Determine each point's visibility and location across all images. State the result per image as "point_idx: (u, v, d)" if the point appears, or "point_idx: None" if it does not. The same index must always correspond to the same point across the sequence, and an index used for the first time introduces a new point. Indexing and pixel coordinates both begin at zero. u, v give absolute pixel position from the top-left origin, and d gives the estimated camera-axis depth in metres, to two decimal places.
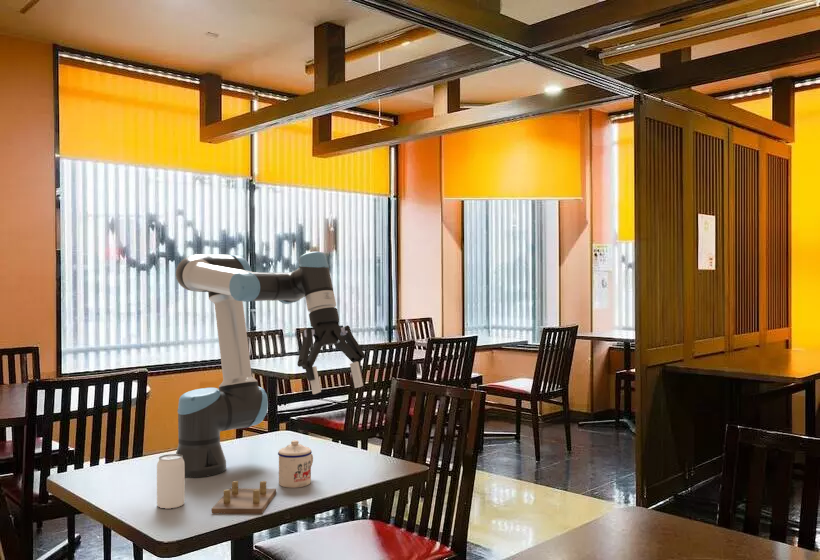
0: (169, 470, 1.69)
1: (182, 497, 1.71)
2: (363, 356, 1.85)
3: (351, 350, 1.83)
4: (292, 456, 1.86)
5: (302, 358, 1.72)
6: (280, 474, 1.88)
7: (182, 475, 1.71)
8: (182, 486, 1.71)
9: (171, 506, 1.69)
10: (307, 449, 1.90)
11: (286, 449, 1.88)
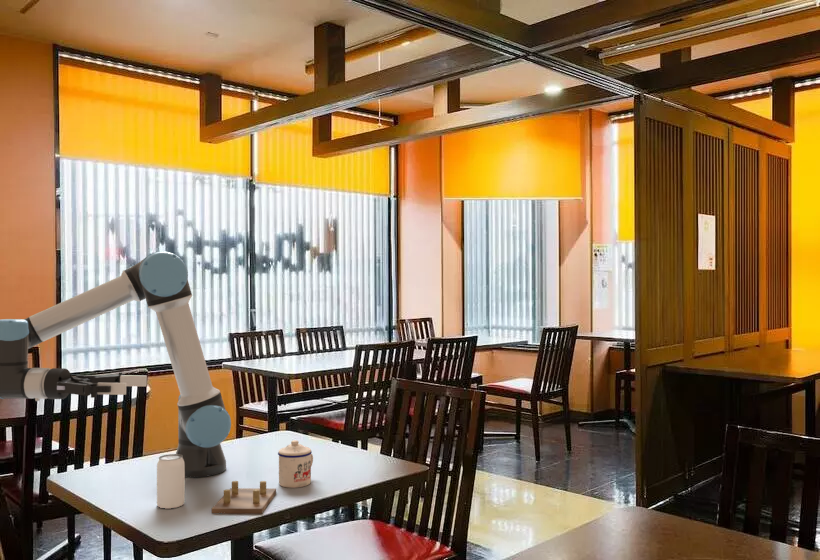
0: (169, 470, 1.69)
1: (182, 497, 1.71)
2: None
3: None
4: (292, 456, 1.86)
5: None
6: (280, 474, 1.88)
7: (182, 475, 1.71)
8: (182, 486, 1.71)
9: (171, 506, 1.69)
10: (307, 449, 1.90)
11: (286, 449, 1.88)
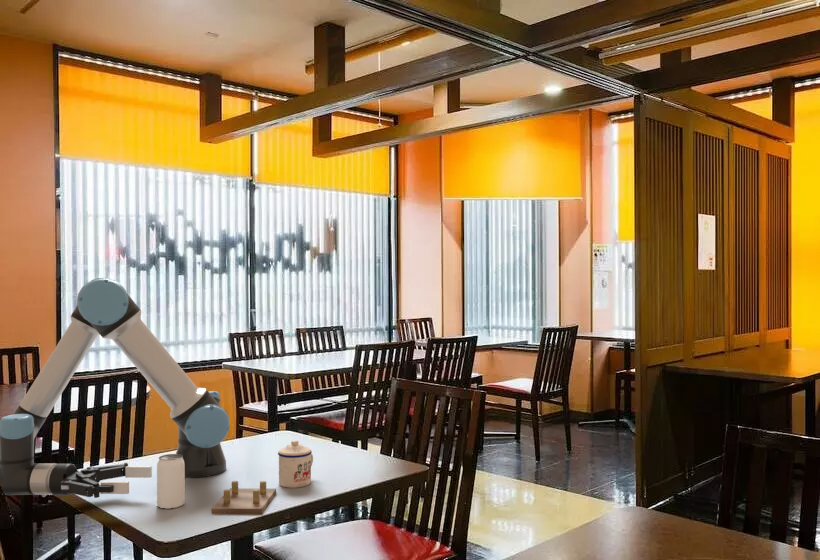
0: (169, 470, 1.69)
1: (182, 497, 1.71)
2: None
3: None
4: (292, 456, 1.86)
5: None
6: (280, 474, 1.88)
7: (182, 475, 1.71)
8: (182, 486, 1.71)
9: (171, 506, 1.69)
10: (307, 449, 1.90)
11: (286, 449, 1.88)
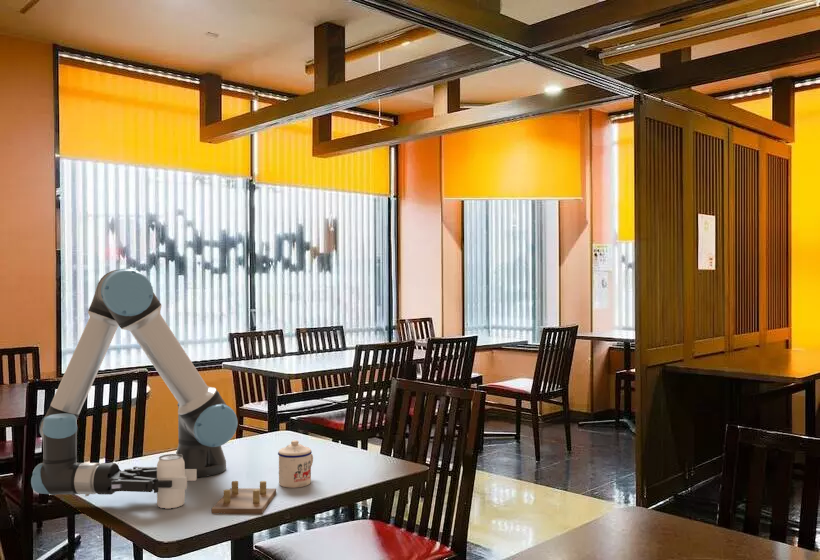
0: (170, 470, 1.69)
1: (182, 497, 1.71)
2: None
3: None
4: (292, 456, 1.86)
5: None
6: (280, 474, 1.88)
7: (182, 475, 1.71)
8: None
9: (171, 506, 1.69)
10: (307, 449, 1.90)
11: (286, 449, 1.88)
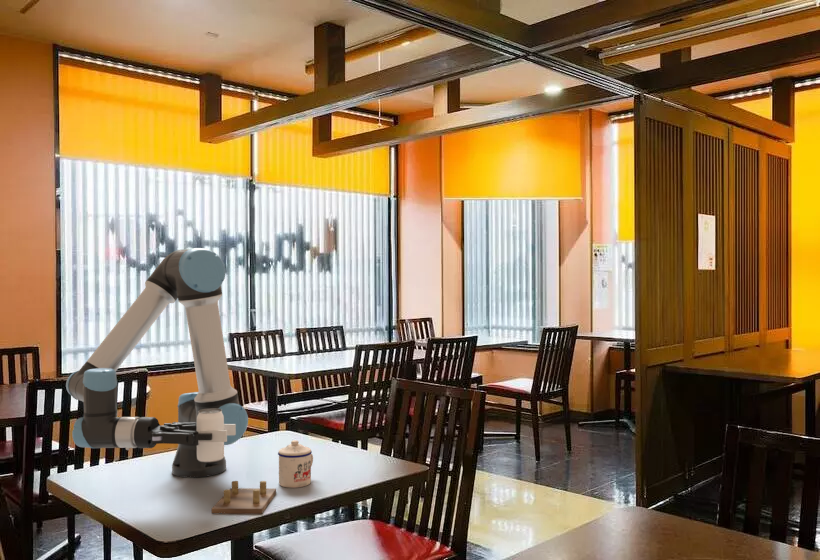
0: (209, 423, 1.68)
1: (222, 451, 1.70)
2: None
3: None
4: (292, 456, 1.86)
5: None
6: (280, 474, 1.88)
7: (222, 429, 1.71)
8: None
9: (211, 459, 1.68)
10: (307, 449, 1.90)
11: (286, 449, 1.88)
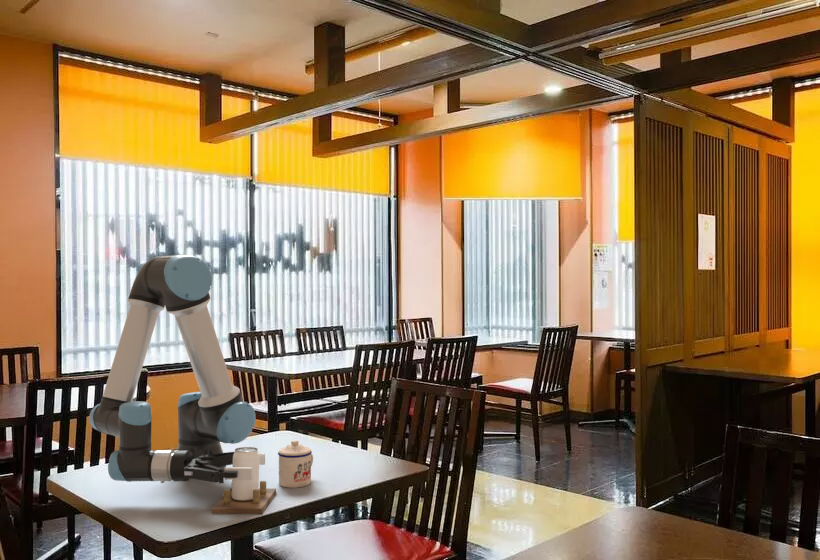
0: (246, 462, 1.71)
1: None
2: None
3: None
4: (292, 456, 1.86)
5: None
6: (280, 474, 1.88)
7: (257, 468, 1.73)
8: (257, 479, 1.73)
9: (246, 498, 1.71)
10: (307, 449, 1.90)
11: (286, 449, 1.88)
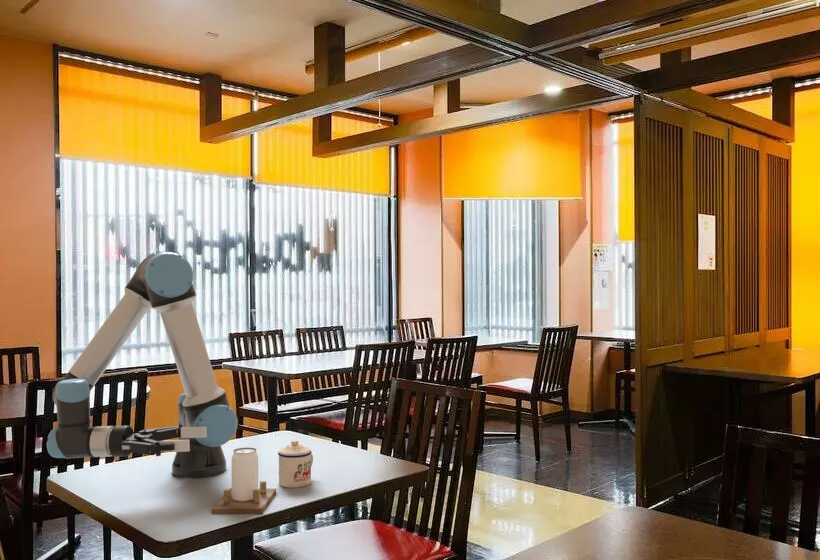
0: (245, 463, 1.70)
1: None
2: None
3: None
4: (292, 456, 1.86)
5: None
6: (280, 474, 1.88)
7: (256, 468, 1.73)
8: (256, 479, 1.73)
9: (246, 499, 1.71)
10: (307, 449, 1.90)
11: (286, 449, 1.88)
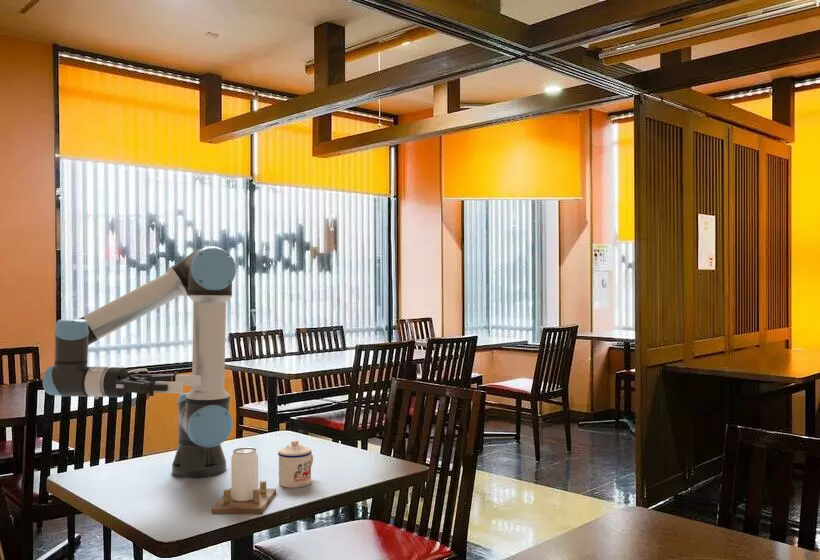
0: (245, 463, 1.70)
1: None
2: None
3: None
4: (292, 456, 1.86)
5: None
6: (280, 474, 1.88)
7: (256, 468, 1.73)
8: (256, 479, 1.73)
9: (246, 499, 1.71)
10: (307, 449, 1.90)
11: (286, 449, 1.88)
